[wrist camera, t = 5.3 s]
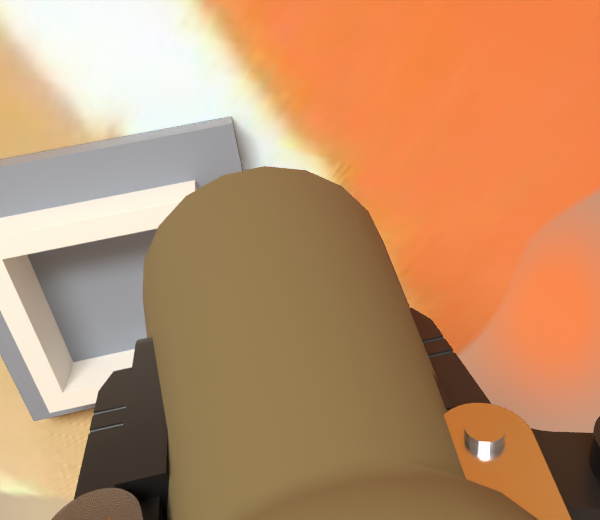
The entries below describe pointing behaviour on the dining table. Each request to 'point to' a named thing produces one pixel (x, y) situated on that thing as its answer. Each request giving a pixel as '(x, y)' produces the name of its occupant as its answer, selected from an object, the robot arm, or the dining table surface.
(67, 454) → the dining table surface
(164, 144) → the board
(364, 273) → the olive brown knobbed peg
